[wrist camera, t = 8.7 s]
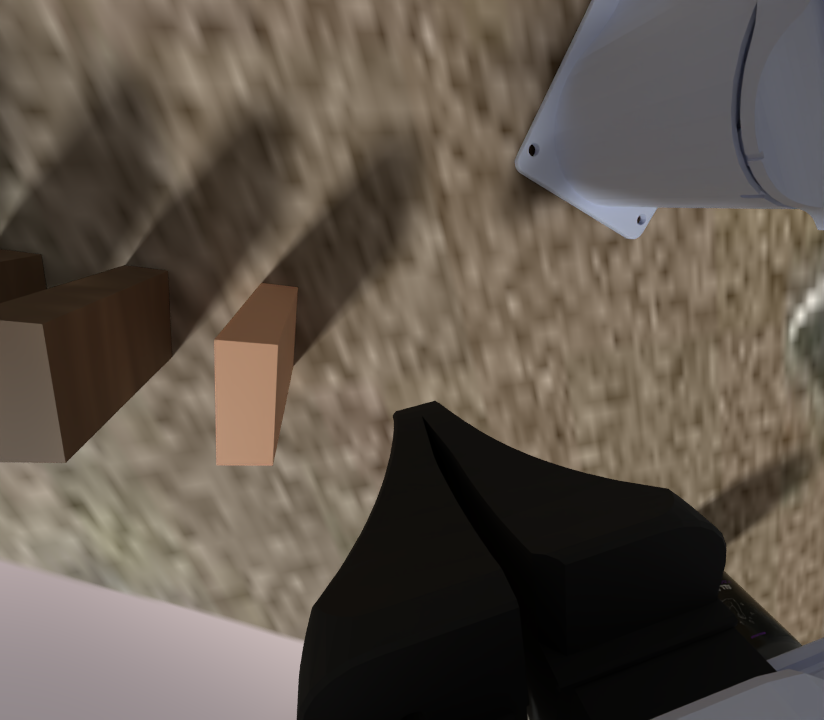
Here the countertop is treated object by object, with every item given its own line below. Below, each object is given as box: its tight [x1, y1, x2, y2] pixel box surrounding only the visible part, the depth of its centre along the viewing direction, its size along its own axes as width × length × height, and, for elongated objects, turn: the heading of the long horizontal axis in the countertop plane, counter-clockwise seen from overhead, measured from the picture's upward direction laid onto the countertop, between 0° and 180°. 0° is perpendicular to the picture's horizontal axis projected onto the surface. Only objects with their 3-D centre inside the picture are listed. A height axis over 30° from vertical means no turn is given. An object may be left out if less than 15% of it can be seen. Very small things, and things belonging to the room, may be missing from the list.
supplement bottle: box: [718, 571, 802, 660], centre depth 27 cm, size 7×7×12 cm
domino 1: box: [0, 265, 172, 463], centre depth 13 cm, size 2×4×8 cm, turn 170°
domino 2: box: [214, 283, 298, 466], centre depth 15 cm, size 2×4×8 cm, turn 170°
